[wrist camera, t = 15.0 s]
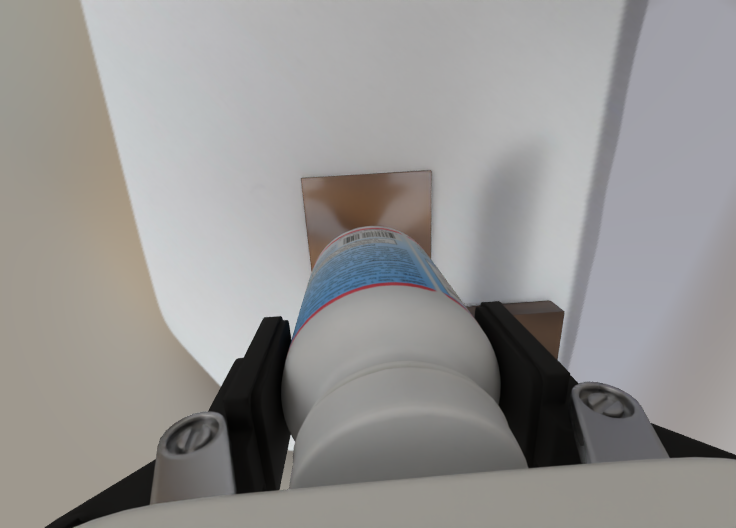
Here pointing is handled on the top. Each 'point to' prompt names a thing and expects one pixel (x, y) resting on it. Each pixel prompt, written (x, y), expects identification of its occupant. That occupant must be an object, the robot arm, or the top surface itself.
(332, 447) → the pill bottle
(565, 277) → the top surface
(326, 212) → the coaster
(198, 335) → the top surface
